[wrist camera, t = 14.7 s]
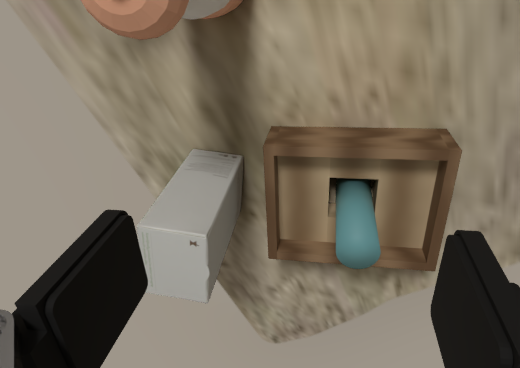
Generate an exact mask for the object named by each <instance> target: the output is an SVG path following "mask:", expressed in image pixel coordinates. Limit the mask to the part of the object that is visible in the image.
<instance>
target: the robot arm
mask: <svg viewBox="0 0 520 368" xmlns="http://www.w3.org/2000/svg"><path fill="white" fill-rule="evenodd" d="M147 286H148V278H147V274H146V270H145V266H144V262H143V258H142V254H141V250H140V246H139V242H138V239H137V234H136V230H135V226H134V222H133V219H132V217H131V216H129V215H128V214H127V212H125V211H121V210H106V211H104V212H103V213H102V214H101V215H100V216H99V217H98V218H97V219H96V220H95V221H94V222H93V223H92V224H91V225H90V226H89V227H88V229H87V230H86V231H85V232H84V233H83V234H82V235H81V236H80V237H79V238H78V239H77V240H76V241H75V242H74V243H73V244H72V245H71V246H70V247H69V248H68V249H67V250H66V251H65V252H64V253H63V254H62V255H61V256H60V258H58V259H57V260H56V261H55V262H54V263H53V264H52V265H51V267H49V268H48V270H47V271H46V272H45V273H44V274H43V275H42V276H41V277H40V278H39V279H38V280H37V281H36V282H35V283H34V284H33V285H32V286H31V287H30V288H29V289H28V290H27V291H26V292H25V293H24V294H23V295H22V296H21V297H20V298H19V299H18V300H17V301H16V302H15V305H16V307H17V309H16V310H15V311H14V312H13V313H12V314H11V313H10V312H8V311H5V310H0V368H100V367H101V365H102V364H103V362H104V360H105V359H106V357H107V355H108V353H109V352H110V350H111V349H112V347H113V345H114V343H115V342H116V340H117V339H118V337H119V335H120V334H121V332H122V330H123V329H124V327H125V325H126V323H127V322H128V320H129V318H130V317H131V315H132V313H133V312H134V310H135V308H136V307H137V305H138V303H139V302H140V300H141V298H142V297H143V295H144V293H145V292H146V290H147ZM431 318H432V322H433V326H434V330H435V333H436V337H437V340H438V344H439V348H440V352H441V355H442V359H443V362H444V366H445V368H520V287H519V286H518V285H517V284H515V283H509V281H508V279H507V277H506V275H505V274H504V272H503V270H502V268H501V267H500V265H499V263H498V261H497V259H496V258H495V256H494V254H493V252H492V250H491V249H490V247H489V245H488V243H487V241H486V240H485V238H484V236H483V234H482V233H481V232H479V231H465V230H457V231H456V232H455V233H454V235H448V236H447V239H446V243H445V247H444V252H443V256H442V260H441V265H440V269H439V273H438V278H437V282H436V286H435V291H434V295H433V300H432V304H431Z"/></svg>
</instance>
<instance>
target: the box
mask: <svg viewBox="0 0 520 368" xmlns="http://www.w3.org/2000/svg"><path fill="white" fill-rule="evenodd" d="M263 152H264V173H265V193H266V214H267V235H268V256H269V259H282V260H295V261H308V262H321V263H334V264H342V263H341V262H340V261H339V260H338V258H337V256H336V203H328V201H329V179H330V178H354V179H375V180H374V190H373V199H372V200H373V206H374V213H375V219H376V225H377V231H378V238H379V244H380V251H381V254H380V257H379V259H378V261H377V262H376V263H375V264H373V265H372V266H373V267H386V268H399V269H412V270H425V271H435V269H436V265H437V260H438V256H439V251H440V247H441V242H442V238H443V234H444V229H445V225H446V220H447V216H448V211H449V207H450V202H451V198H452V194H453V189H454V185H455V180H456V176H457V171H458V167H459V162H460V158H461V154H462V150H461V149H460V147H459V146H458V144H457V143H456V142H455V140H454V139H453V137H452V136H451V134H450V133H449V132H448V130H447V129H412V128H345V127H277V126H272V127H271V129H270V131H269V134H268V136H267V138H266V141H265V143H264V145H263Z"/></svg>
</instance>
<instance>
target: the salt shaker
mask: <svg viewBox="0 0 520 368" xmlns="http://www.w3.org/2000/svg"><path fill="white" fill-rule="evenodd" d="M81 1H82V3H83V4H84V6H85V8H86V9H87V11H88V12H89V13H90V14H91V15H92V16H93V17H94V18H95V19H96V20H97V21H98V22H99V23H100V24H101V25H102V26H104V27H105V28H107V29H109V30H111V31H112V32H114V33H116V34H118V35H121V36H125V37H130V38H135V39H140V40H144V39H150V38H157V37H159V36H161V35H163V34H164V33H166V32H168V31H170V30H171V29H173V28H174V26H175V25H176V24H177V23H178V21H179V20H180V19H181V18H185V19H191V20H193V19H199V18H202V19H209V18H215V17H219V16H222V15H224V14H227V13H229V12H230V11H232V10H234V9H236V8H237V7H238V6H239V4H240V3H241V2H242V1H243V0H81Z"/></svg>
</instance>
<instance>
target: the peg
mask: <svg viewBox="0 0 520 368" xmlns="http://www.w3.org/2000/svg"><path fill="white" fill-rule="evenodd" d="M380 254H381V251H380V244H379V238H378V231H377V225H376V219H375V213H374V206H373V200H372V194H371V187H370V182H369V179H354V178H338V179H337V182H336V256H337V258H338V260H339V261H340V262H341V263H342V264H343V265H345V266H347V267H350V268H354V269H363V268H367V267H370V266H372V265H373V264H375V263H376V262H377V261H378V259H379V257H380Z"/></svg>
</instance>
